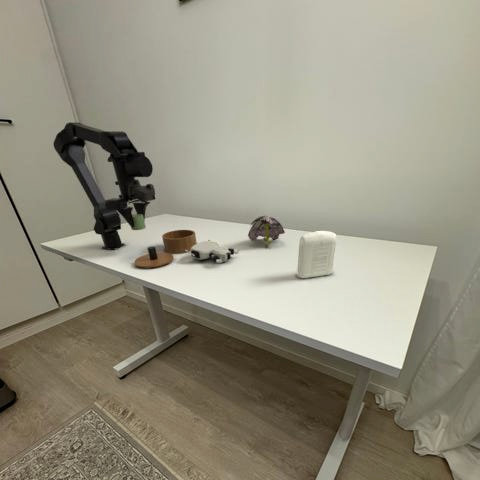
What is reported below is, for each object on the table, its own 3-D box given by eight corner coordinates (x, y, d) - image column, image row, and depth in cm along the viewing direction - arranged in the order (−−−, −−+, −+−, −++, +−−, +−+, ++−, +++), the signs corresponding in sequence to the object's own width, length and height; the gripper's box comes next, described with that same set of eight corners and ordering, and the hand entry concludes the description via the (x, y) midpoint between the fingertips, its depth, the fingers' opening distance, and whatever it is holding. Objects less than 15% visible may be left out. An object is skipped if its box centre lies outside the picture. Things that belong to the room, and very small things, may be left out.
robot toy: (241, 259, 96) (208, 249, 103) (241, 246, 93) (207, 237, 100) (218, 271, 87) (184, 260, 94) (218, 258, 85) (183, 247, 92)
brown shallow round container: (158, 252, 104) (155, 237, 101) (177, 242, 113) (174, 228, 110) (185, 255, 100) (183, 240, 97) (202, 244, 109) (200, 230, 106)
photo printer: (327, 269, 82) (332, 227, 76) (334, 274, 79) (340, 231, 72) (294, 274, 81) (297, 231, 74) (300, 280, 77) (304, 236, 71)
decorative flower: (288, 212, 105) (274, 208, 92) (292, 243, 107) (279, 243, 94) (254, 221, 112) (237, 219, 99) (258, 250, 114) (242, 251, 101)
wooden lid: (126, 266, 93) (122, 252, 90) (151, 253, 103) (148, 240, 100) (158, 271, 88) (154, 256, 85) (181, 257, 98) (178, 243, 95)
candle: (128, 229, 99) (125, 216, 96) (138, 226, 103) (134, 213, 100) (139, 230, 97) (136, 217, 95) (148, 226, 101) (145, 214, 98)
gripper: (123, 180, 81) (137, 234, 89) (162, 173, 95) (171, 220, 103) (96, 181, 85) (112, 232, 93) (137, 174, 99) (148, 218, 107)
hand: (137, 225), depth 99 cm, fingers closed on candle, 5 cm apart
